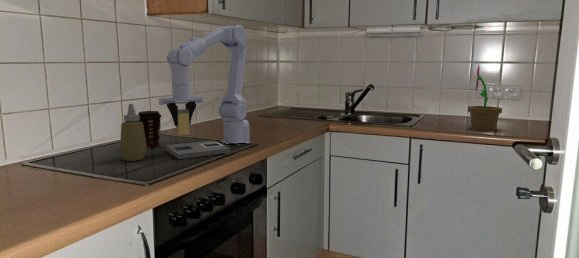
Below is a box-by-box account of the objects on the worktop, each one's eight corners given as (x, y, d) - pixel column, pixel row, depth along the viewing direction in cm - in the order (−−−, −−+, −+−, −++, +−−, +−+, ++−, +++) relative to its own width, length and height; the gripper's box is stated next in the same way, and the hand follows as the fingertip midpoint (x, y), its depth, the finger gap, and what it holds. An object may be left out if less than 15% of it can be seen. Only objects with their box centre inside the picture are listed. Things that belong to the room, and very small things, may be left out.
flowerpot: (467, 126, 203) (471, 63, 198) (500, 128, 197) (505, 64, 192) (465, 130, 190) (470, 64, 186) (500, 133, 184) (506, 64, 179)
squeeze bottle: (150, 156, 139) (147, 102, 136) (143, 162, 131) (139, 105, 128) (126, 156, 139) (122, 102, 136) (116, 162, 131) (113, 105, 128)
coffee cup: (154, 143, 160) (153, 109, 158) (167, 146, 155) (166, 111, 153) (134, 147, 154) (132, 111, 152) (146, 150, 149) (144, 113, 146)
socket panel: (214, 145, 156) (214, 139, 156) (230, 154, 143) (230, 147, 142) (165, 150, 147) (165, 144, 147) (178, 160, 134) (177, 153, 133)
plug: (186, 132, 144) (185, 108, 143) (189, 134, 141) (189, 110, 139) (175, 133, 142) (174, 109, 141) (178, 135, 139) (177, 110, 138)
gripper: (198, 83, 146) (199, 121, 148) (155, 84, 139) (157, 125, 141) (204, 84, 140) (206, 124, 142) (160, 85, 132) (162, 128, 135)
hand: (182, 125), depth 141 cm, fingers closed on plug, 4 cm apart
